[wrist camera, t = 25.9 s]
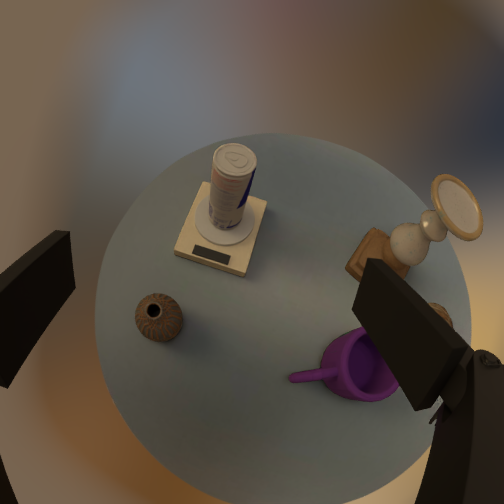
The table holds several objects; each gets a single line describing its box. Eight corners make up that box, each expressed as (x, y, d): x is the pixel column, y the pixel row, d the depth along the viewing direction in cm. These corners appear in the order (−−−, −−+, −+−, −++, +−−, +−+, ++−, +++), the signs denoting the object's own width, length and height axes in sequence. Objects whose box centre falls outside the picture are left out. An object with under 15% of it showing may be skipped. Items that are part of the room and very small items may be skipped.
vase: (131, 323, 44) (117, 312, 36) (160, 291, 47) (152, 274, 39) (164, 352, 44) (156, 348, 36) (192, 320, 46) (191, 308, 38)
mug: (369, 328, 50) (401, 317, 41) (378, 390, 46) (413, 390, 37) (275, 343, 47) (293, 336, 38) (284, 412, 43) (304, 421, 34)
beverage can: (243, 230, 50) (260, 176, 37) (208, 231, 49) (213, 175, 36) (240, 201, 52) (255, 142, 39) (207, 201, 51) (212, 141, 38)
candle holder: (386, 305, 53) (479, 258, 31) (343, 268, 54) (422, 201, 32) (407, 264, 57) (489, 207, 35) (369, 229, 58) (440, 158, 37)
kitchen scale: (174, 254, 50) (173, 247, 47) (202, 188, 56) (203, 178, 53) (243, 277, 50) (246, 271, 48) (264, 207, 56) (268, 199, 53)
